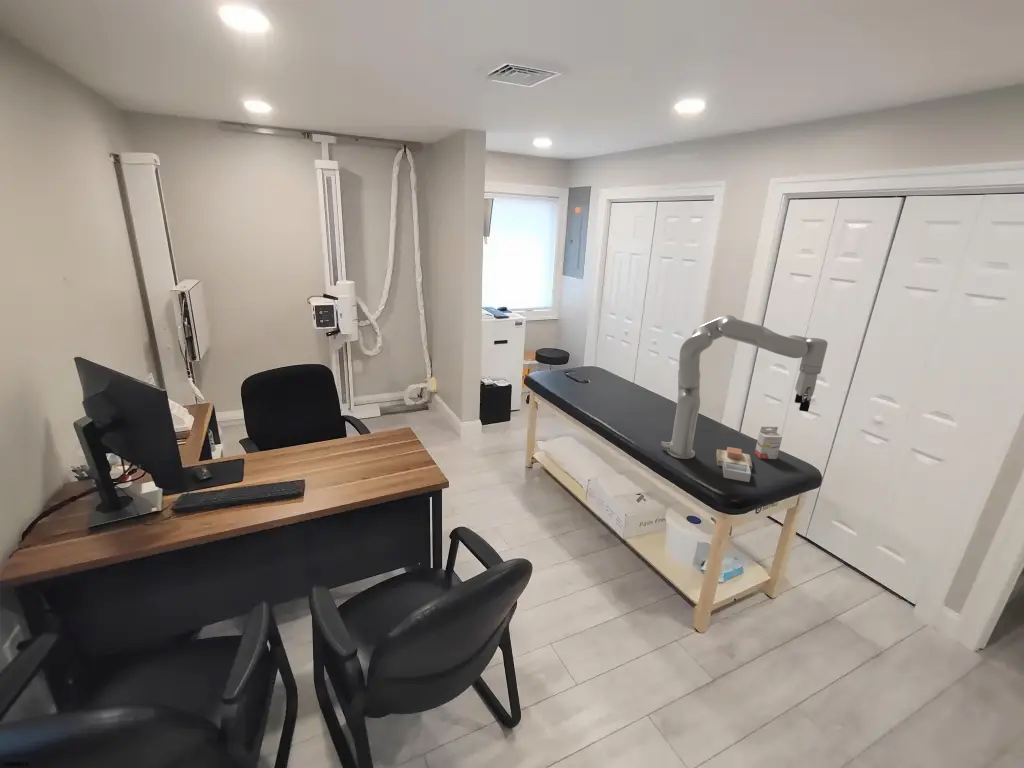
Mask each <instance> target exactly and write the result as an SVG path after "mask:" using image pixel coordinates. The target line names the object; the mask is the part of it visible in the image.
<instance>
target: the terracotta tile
mask: <svg viewBox="0 0 1024 768" xmlns="http://www.w3.org/2000/svg"><path fill="white" fill-rule="evenodd" d="M726 453H727V457H729V458H735V459H741V460H742V453H743V452H742V448H737V447H730V446H726Z"/></svg>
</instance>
